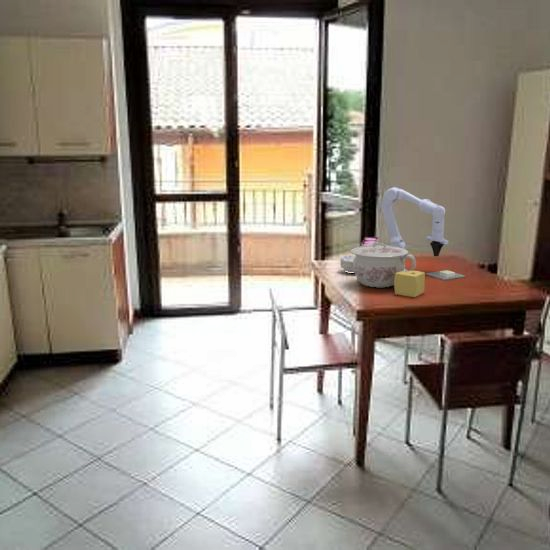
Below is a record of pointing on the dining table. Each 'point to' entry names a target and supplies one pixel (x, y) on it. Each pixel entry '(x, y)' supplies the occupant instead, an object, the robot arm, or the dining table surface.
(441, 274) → the block
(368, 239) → the gum box
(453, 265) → the dining table surface
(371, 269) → the chamber pot
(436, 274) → the mat
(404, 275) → the cheese
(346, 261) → the paper bowls
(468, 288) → the dining table surface
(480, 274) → the dining table surface
